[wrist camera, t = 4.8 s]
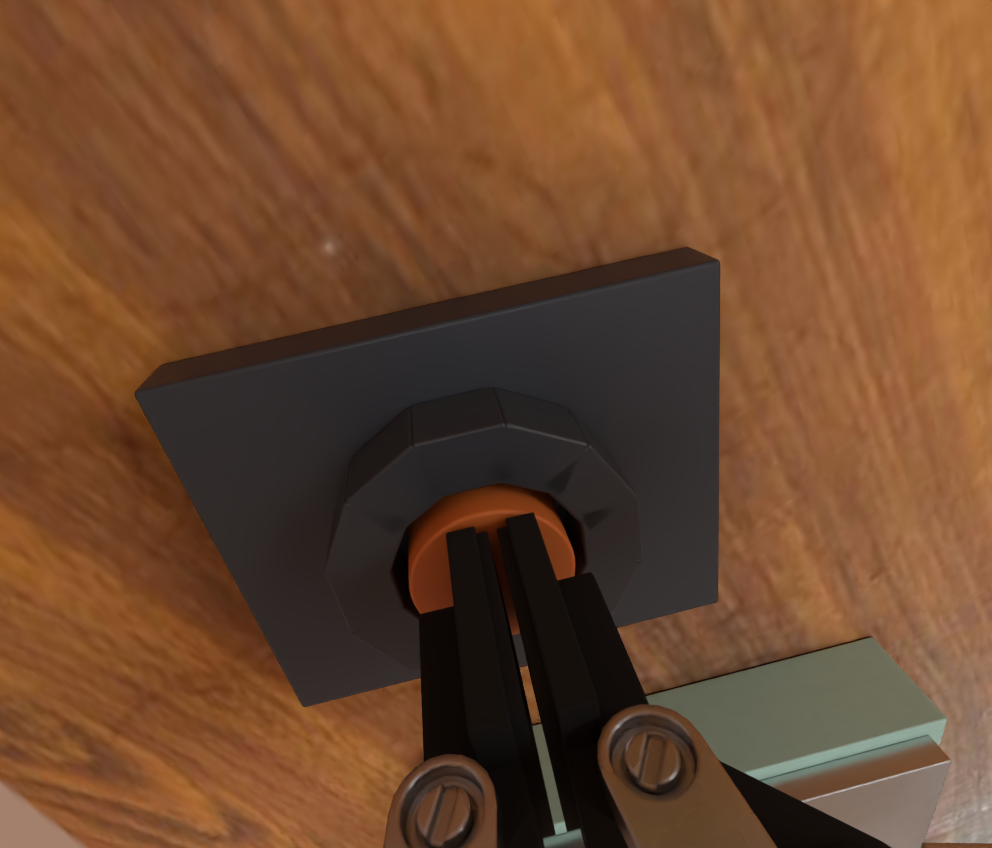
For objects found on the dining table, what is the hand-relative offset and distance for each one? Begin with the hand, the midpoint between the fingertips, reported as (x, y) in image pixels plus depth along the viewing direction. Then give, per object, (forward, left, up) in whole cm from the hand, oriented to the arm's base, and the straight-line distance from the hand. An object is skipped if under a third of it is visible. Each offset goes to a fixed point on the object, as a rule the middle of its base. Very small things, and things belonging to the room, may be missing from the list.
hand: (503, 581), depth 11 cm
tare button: (0, 0, -2) cm, 2 cm away
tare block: (0, 0, -3) cm, 3 cm away
